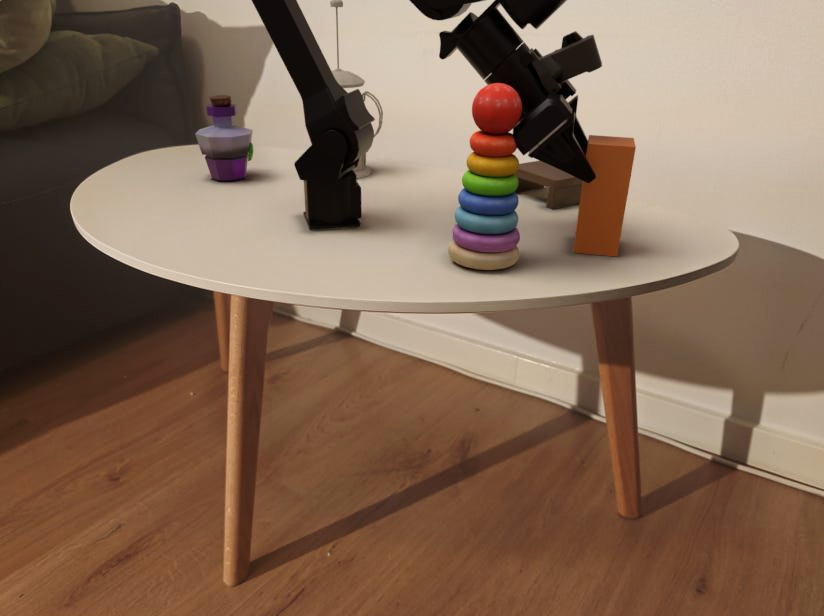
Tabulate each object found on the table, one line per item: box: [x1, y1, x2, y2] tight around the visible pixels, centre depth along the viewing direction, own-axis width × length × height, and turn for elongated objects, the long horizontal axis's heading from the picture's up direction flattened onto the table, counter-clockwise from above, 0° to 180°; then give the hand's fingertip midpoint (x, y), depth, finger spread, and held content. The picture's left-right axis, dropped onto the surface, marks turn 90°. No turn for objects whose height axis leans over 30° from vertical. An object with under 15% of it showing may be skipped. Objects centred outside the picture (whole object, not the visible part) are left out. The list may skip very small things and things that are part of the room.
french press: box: [329, 0, 384, 179], centre depth 107 cm, size 10×12×25 cm
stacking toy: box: [447, 83, 522, 271], centre depth 75 cm, size 8×8×19 cm
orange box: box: [573, 134, 637, 258], centre depth 81 cm, size 5×5×12 cm
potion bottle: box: [194, 94, 254, 183], centre depth 105 cm, size 9×9×12 cm
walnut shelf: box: [514, 160, 583, 210], centre depth 102 cm, size 7×10×4 cm
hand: (593, 170), depth 80 cm, fingers open, 9 cm apart
